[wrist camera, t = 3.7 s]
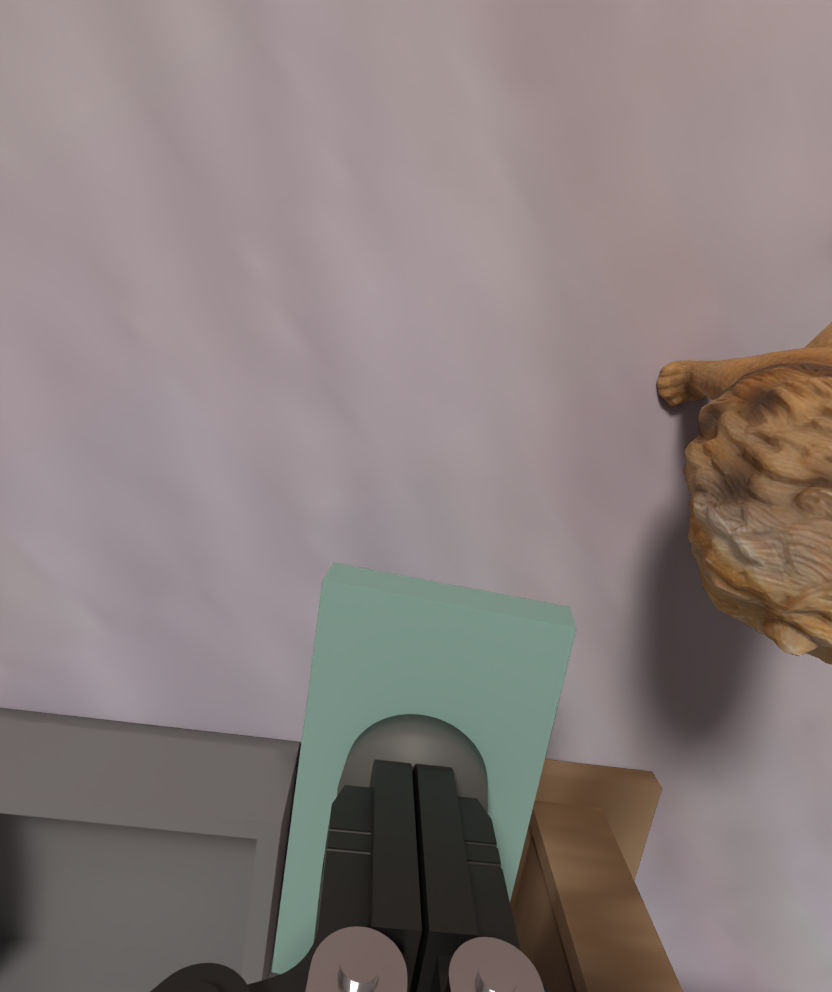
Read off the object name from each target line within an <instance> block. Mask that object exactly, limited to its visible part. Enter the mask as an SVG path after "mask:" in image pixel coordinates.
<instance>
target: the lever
mask: <svg viewBox="0 0 832 992" xmlns="http://www.w3.org/2000/svg"><path fill="white" fill-rule="evenodd" d="M575 632H576V625H575V622H574V619H573V616H572V613H571V610H570V607H568V606H562V605H557V604H552V603H546V602H541V601H536V600H530V599H525V598H520V597H514V596H509V595H504V594H498V593H493V592H488V591H482V590H477V589H472V588H466V587H461V586H456V585H451V584H445V583H440V582H435V581H429V580H424V579H419V578H413V577H408V576H403V575H397V574H392V573H387V572H381V571H376V570H371V569H365V568H360V567H355V566H349V565H344V564H339V563H334V564H333V565H332V567H331V568H330V570H329V571H328V572H327V574H326V575H325V577H324V578H323V581H322V588H321V596H320V604H319V611H318V619H317V627H316V634H315V642H314V650H313V657H312V665H311V673H310V680H309V688H308V696H307V703H306V711H305V719H304V726H303V734H302V742H301V749H300V757H299V765H298V772H297V780H296V788H295V795H294V803H293V811H292V818H291V826H290V834H289V841H288V849H287V857H286V864H285V872H284V880H283V887H282V895H281V903H280V910H279V918H278V926H277V933H276V941H275V949H274V956H273V964H272V972H274V973H278V974H283V973H285V972H286V971H288V970H290V969H291V968H293V967H294V966H295V965H297V964H298V963H299V962H300V961H301V960H302V959H303V958H304V957H305V956H306V954H307V953H308V952H309V950H310V949H311V947H312V945H313V942H314V934H315V925H316V917H317V908H318V899H319V891H320V882H321V873H322V866H323V859H324V852H325V846H326V839H327V833H328V826H329V819H330V813H331V806H332V803H333V802H334V800H335V799H336V797H337V796H338V794H339V793H340V791H341V790H342V789H343V787H344V786H345V785H351V786H361V787H369V785H370V779H371V773H372V767H373V763H374V760H375V759H377V760H386V761H396V762H405V763H411V765H412V772H413V768H414V765H415V764H426V765H435V766H445V767H452V769H453V773H454V779H455V785H456V792H457V796H460V797H470V798H477V799H478V801H479V802H480V803H481V805H482V806H483V808H484V809H485V811H486V812H487V813H488V815H489V816H490V818H491V819H492V823H493V828H494V832H495V837H496V841H497V848H498V850H499V855H500V860H501V868H502V869H503V873H504V878H505V883H506V887H507V892H508V896H509V901H510V900H511V896H512V892H513V888H514V884H515V879H516V875H517V871H518V867H519V863H520V859H521V855H522V851H523V846H524V842H525V838H526V834H527V830H528V826H529V822H530V818H531V813H532V809H533V805H534V801H535V797H536V793H537V789H538V785H539V780H540V776H541V772H542V768H543V764H544V760H545V756H546V752H547V747H548V743H549V739H550V735H551V731H552V727H553V723H554V719H555V714H556V710H557V706H558V702H559V698H560V694H561V690H562V686H563V681H564V677H565V673H566V669H567V665H568V661H569V657H570V653H571V648H572V644H573V640H574V636H575Z"/></svg>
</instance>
